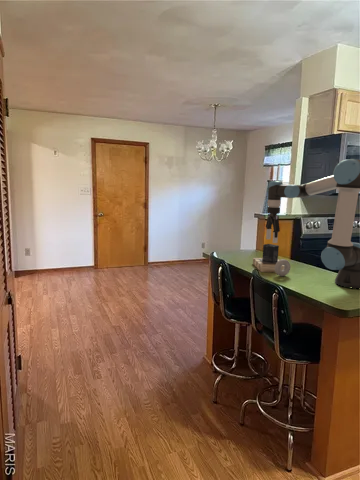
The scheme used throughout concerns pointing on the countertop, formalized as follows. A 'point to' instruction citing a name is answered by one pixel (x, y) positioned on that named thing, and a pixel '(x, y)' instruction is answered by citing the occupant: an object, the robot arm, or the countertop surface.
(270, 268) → the stack base
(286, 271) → the grey wheel
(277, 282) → the countertop surface
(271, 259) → the box
